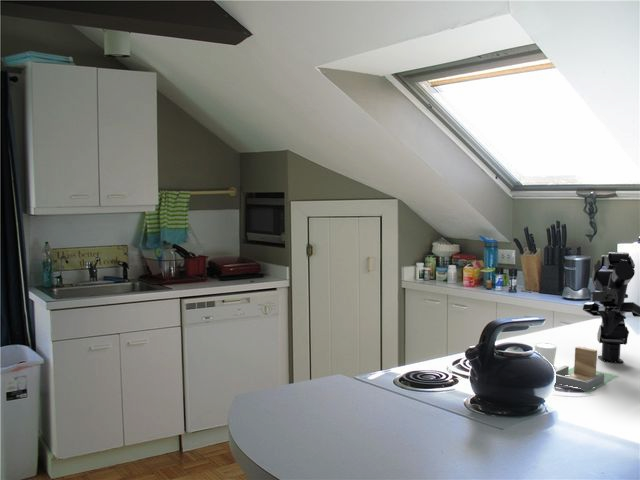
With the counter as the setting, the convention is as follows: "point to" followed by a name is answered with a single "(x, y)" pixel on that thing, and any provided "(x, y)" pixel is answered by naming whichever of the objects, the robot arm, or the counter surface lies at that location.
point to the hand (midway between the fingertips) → (606, 334)
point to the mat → (607, 376)
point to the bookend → (584, 363)
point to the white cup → (546, 351)
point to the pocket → (577, 382)
